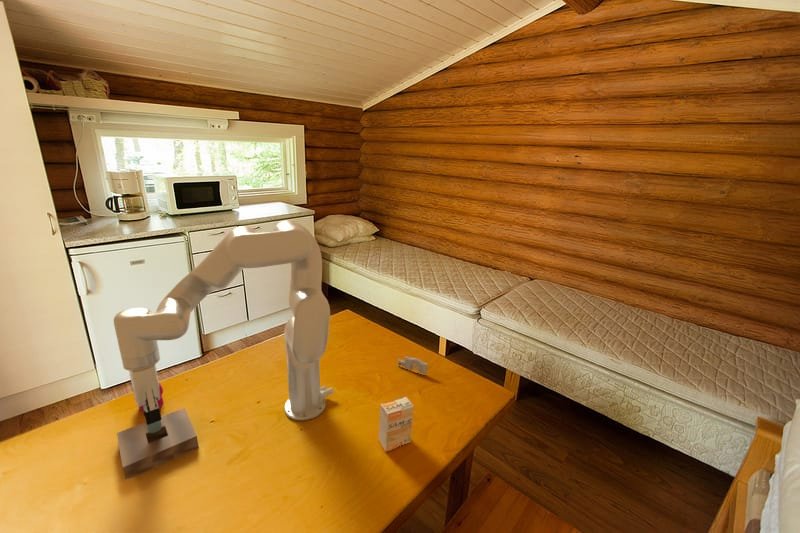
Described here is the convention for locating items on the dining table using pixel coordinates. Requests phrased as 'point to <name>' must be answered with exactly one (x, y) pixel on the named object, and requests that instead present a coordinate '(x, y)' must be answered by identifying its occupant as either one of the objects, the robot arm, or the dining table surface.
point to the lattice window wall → (409, 361)
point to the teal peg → (153, 425)
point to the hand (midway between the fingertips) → (152, 417)
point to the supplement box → (395, 423)
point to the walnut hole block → (156, 443)
